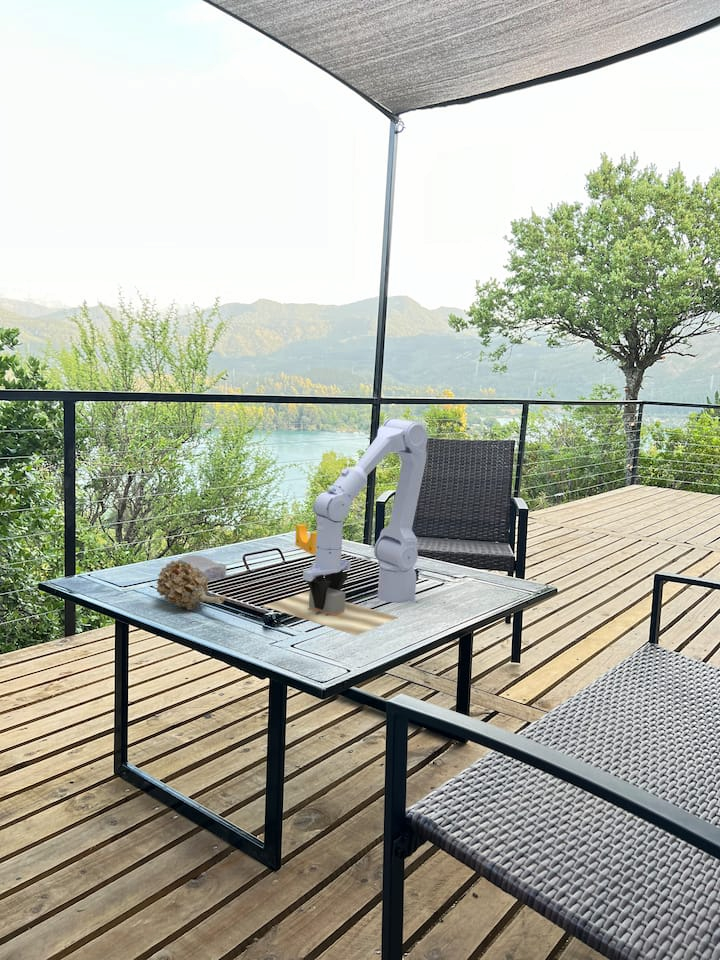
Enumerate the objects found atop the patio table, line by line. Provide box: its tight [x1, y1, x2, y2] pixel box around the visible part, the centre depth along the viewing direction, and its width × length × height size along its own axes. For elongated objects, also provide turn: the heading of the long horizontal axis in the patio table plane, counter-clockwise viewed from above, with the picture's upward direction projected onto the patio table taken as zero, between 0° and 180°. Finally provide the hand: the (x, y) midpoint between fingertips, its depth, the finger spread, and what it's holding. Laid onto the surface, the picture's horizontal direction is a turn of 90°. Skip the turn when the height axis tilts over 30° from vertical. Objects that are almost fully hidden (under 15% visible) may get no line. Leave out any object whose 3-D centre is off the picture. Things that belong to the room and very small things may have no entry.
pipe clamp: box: [295, 523, 317, 556], centre depth 235 cm, size 12×4×6 cm, turn 29°
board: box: [262, 590, 399, 636], centre depth 175 cm, size 16×26×2 cm, turn 54°
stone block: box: [177, 554, 227, 581], centre depth 203 cm, size 12×5×10 cm
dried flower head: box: [156, 560, 226, 611], centre depth 174 cm, size 22×10×10 cm, turn 56°
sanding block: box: [309, 588, 346, 616], centre depth 175 cm, size 4×7×4 cm, turn 54°
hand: (325, 605), depth 176 cm, fingers closed on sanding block, 4 cm apart
